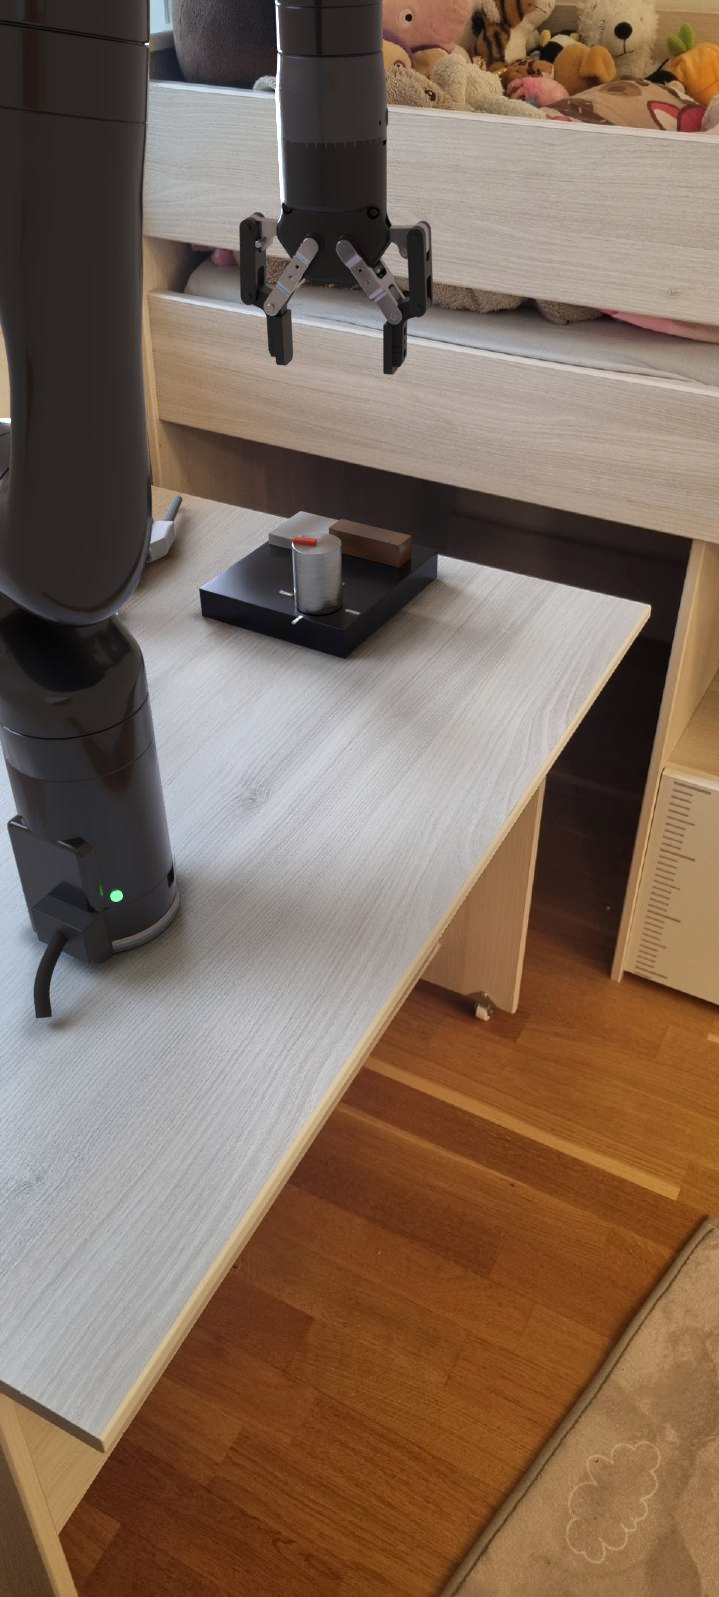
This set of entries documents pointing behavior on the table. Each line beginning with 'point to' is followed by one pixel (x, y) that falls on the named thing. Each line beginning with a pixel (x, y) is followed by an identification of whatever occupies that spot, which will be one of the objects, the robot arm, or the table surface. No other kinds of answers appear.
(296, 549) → the hob knob
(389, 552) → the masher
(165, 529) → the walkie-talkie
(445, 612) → the table surface
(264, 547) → the hob
